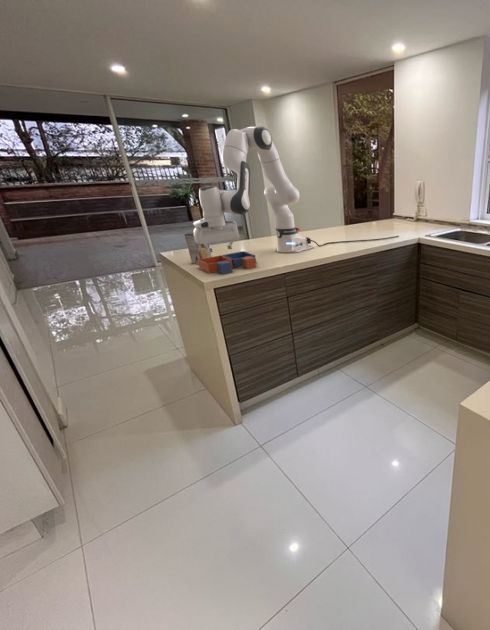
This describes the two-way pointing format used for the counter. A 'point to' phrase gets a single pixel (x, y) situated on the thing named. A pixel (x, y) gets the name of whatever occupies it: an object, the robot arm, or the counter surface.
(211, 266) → the clay bin
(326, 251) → the counter surface
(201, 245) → the coffee box
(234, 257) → the blue bin
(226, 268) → the blue block
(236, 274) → the counter surface
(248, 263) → the clay block
